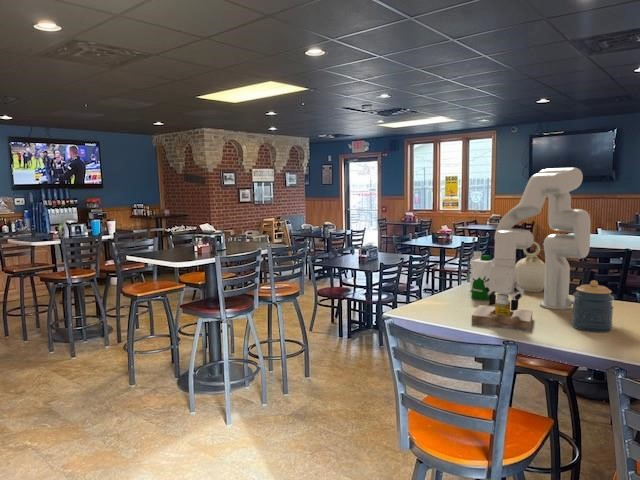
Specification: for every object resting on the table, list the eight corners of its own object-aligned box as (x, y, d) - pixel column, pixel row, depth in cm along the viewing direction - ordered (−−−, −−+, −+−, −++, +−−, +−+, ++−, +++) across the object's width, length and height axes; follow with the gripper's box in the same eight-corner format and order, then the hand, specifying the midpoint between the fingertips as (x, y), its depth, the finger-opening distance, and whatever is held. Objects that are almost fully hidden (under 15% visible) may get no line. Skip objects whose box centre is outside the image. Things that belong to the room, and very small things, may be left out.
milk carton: (495, 298, 222) (496, 256, 220) (485, 301, 216) (487, 257, 214) (478, 295, 228) (479, 254, 226) (468, 298, 222) (469, 256, 220)
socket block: (532, 319, 185) (532, 310, 185) (529, 331, 169) (529, 321, 169) (478, 313, 194) (479, 305, 194) (471, 324, 178) (471, 315, 178)
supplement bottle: (509, 318, 183) (510, 293, 182) (510, 321, 178) (511, 296, 177) (494, 316, 185) (495, 292, 184) (495, 320, 180) (496, 295, 179)
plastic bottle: (484, 292, 236) (485, 252, 234) (470, 291, 237) (471, 252, 235) (482, 289, 242) (483, 250, 240) (468, 289, 243) (469, 250, 241)
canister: (573, 330, 170) (576, 282, 168) (569, 321, 182) (571, 276, 180) (615, 334, 165) (618, 284, 163) (608, 325, 177) (611, 278, 175)
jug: (544, 294, 231) (546, 243, 229) (510, 290, 240) (512, 241, 237) (548, 288, 244) (550, 240, 242) (516, 285, 252) (518, 239, 250)
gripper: (479, 261, 184) (477, 304, 186) (519, 266, 170) (517, 313, 172) (491, 259, 189) (490, 301, 190) (531, 265, 174) (529, 310, 176)
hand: (502, 307), depth 181 cm, fingers open, 9 cm apart
